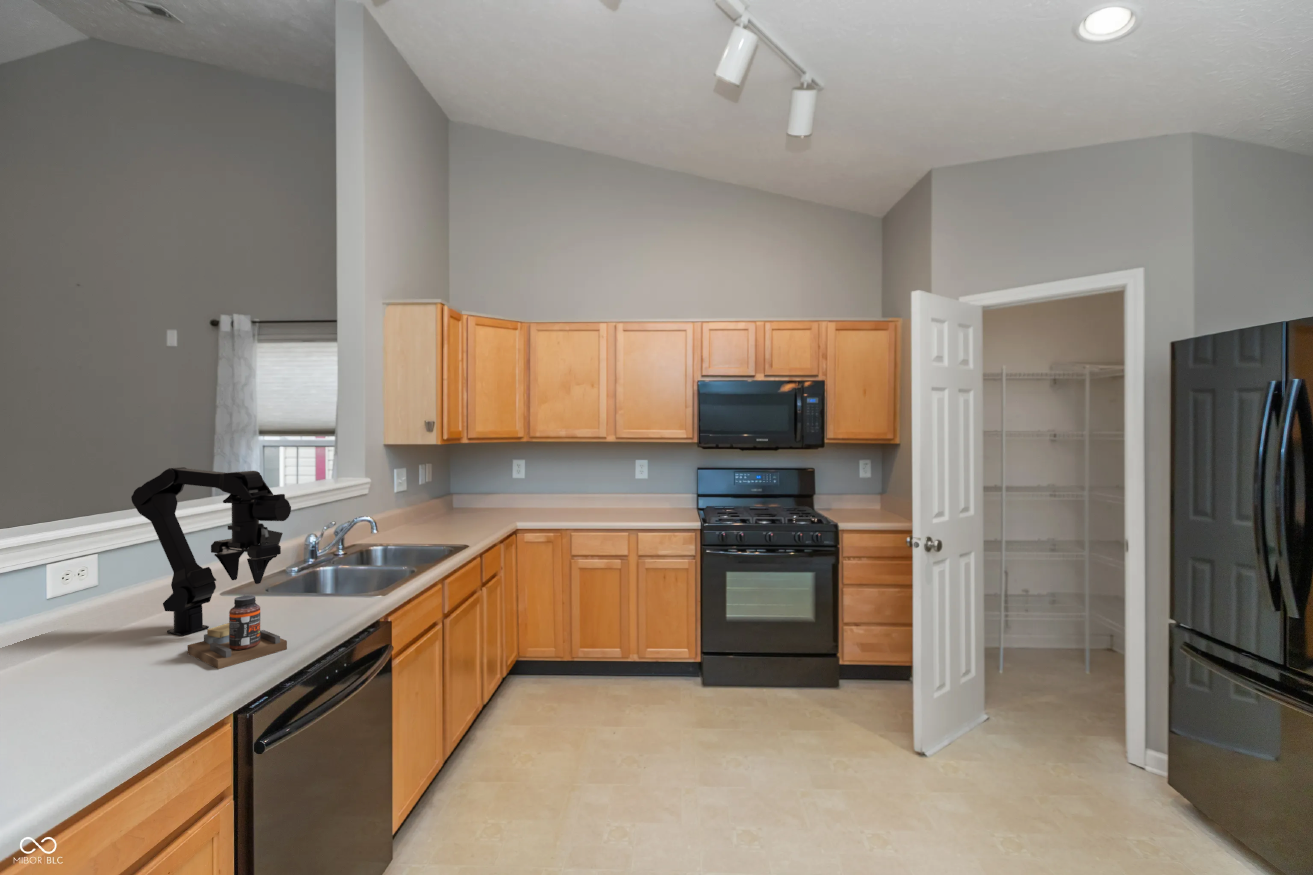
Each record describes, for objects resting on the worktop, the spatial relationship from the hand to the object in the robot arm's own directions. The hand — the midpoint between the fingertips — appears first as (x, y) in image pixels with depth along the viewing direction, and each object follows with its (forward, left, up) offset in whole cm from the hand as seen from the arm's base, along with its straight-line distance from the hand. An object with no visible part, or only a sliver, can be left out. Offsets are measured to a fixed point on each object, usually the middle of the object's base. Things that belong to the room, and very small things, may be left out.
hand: (246, 581), depth 151 cm
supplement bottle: (+15, -10, -11) cm, 21 cm away
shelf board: (+11, -9, -13) cm, 19 cm away
